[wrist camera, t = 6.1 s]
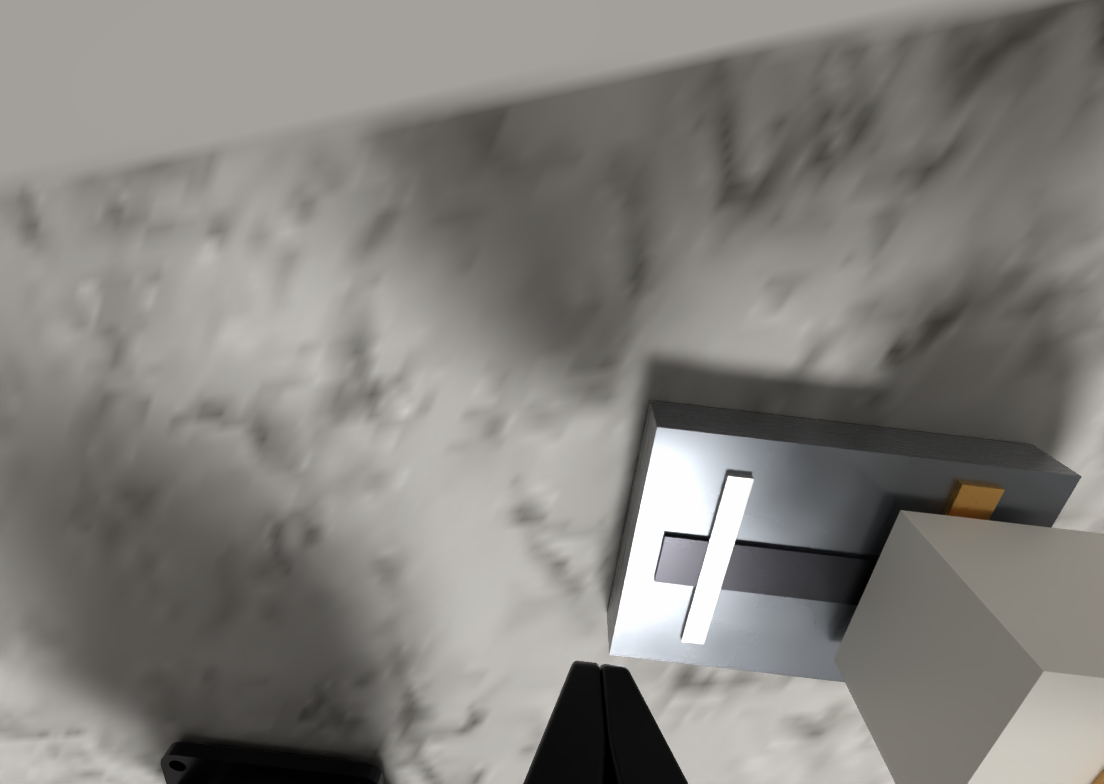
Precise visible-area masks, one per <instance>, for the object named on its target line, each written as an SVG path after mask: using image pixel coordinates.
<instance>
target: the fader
mask: <svg viewBox="0 0 1104 784" xmlns="http://www.w3.org/2000/svg"><path fill="white" fill-rule="evenodd" d="M834 661H835V663H836V665H837V667H838V669H839V671H840V673H841V675H842V677H843V679H844V681H845V683H846V685H847V687H848V689H849V691H850V693H851V695H852V697H853V699H854V701H855V703H856V705H857V707H858V709H859V711H860V713H861V715H862V717H863V719H864V721H865V723H866V725H867V727H868V729H869V731H870V733H871V735H872V737H873V739H874V741H875V743H876V745H877V747H878V749H879V751H880V753H881V755H882V757H883V759H884V761H885V763H886V765H887V767H888V769H889V771H890V773H891V775H892V777H893V779H894V781H895V783H896V784H1104V534H1102V533H1093V532H1085V531H1076V530H1067V529H1059V528H1050V527H1042V526H1033V525H1024V524H1016V523H1007V522H999V521H990V520H981V519H973V518H964V517H956V516H947V515H938V514H930V513H921V512H913V511H904V510H900V512H899V515H898V517H897V519H896V521H895V523H894V526H893V528H892V530H891V532H890V535H889V537H888V539H887V541H886V544H885V546H884V548H883V550H882V552H881V555H880V557H879V559H878V561H877V564H876V566H875V568H874V570H873V573H872V575H871V577H870V579H869V581H868V584H867V586H866V588H865V590H864V593H863V595H862V597H861V599H860V602H859V604H858V606H857V608H856V610H855V613H854V615H853V617H852V619H851V622H850V624H849V626H848V628H847V631H846V633H845V635H844V637H843V639H842V642H841V644H840V646H839V648H838V651H837V653H836V655H835V657H834Z"/></svg>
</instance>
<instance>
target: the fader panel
mask: <svg viewBox="0 0 1104 784" xmlns="http://www.w3.org/2000/svg"><path fill="white" fill-rule="evenodd" d="M1081 477H1082V476H1080V475H1079V474H1077V473H1075V472H1074V471H1072V470H1071V469H1069V468H1068V467H1066V466H1065V465H1063V464H1062V463H1060V462H1059V461H1057V460H1055V459H1054V458H1052V457H1051V456H1049V455H1048V454H1046V453H1045V452H1043V451H1042V450H1040V449H1039V448H1037V447H1036V446H1034V445H1030V444H1022V443H1013V442H1004V441H996V440H987V439H979V438H970V437H962V436H953V435H944V434H936V433H927V432H919V431H910V430H901V429H893V428H884V427H876V426H867V425H859V424H850V423H841V422H833V421H824V420H816V419H807V418H798V417H790V416H781V415H773V414H764V413H755V412H747V411H738V410H730V409H721V408H713V407H704V406H695V405H687V404H678V403H670V402H661V401H652V400H650V401H649V406H648V411H647V416H646V421H645V426H644V431H643V436H642V441H641V446H640V451H639V456H638V461H637V466H636V471H635V476H634V481H633V486H632V491H631V496H630V501H629V506H628V511H627V516H626V521H625V526H624V531H623V537H622V542H621V547H620V552H619V557H618V562H617V567H616V572H615V577H614V582H613V587H612V592H611V597H610V602H609V607H608V612H607V624H608V641H609V655H615V656H624V657H632V658H641V659H649V660H658V661H667V662H675V663H684V664H693V665H701V666H710V667H718V668H727V669H736V670H744V671H753V672H762V673H770V674H779V675H787V676H796V677H805V678H813V679H822V680H831V681H839V682H845V681H844V679H843V677H842V675H841V673H840V671H839V669H838V667H837V665H836V663H835V661H834V657H835V655H836V653H837V651H838V648H839V646H840V644H841V642H842V639H843V637H844V635H845V633H846V631H847V628H848V626H849V624H850V622H851V619H852V617H853V615H854V613H855V610H856V608H857V606H858V604H859V602H860V599H861V597H862V595H863V593H864V590H865V588H866V586H867V584H868V581H869V579H870V577H871V575H872V573H873V570H874V568H875V566H876V564H877V561H878V559H879V557H880V555H881V552H882V550H883V548H884V546H885V544H886V541H887V539H888V537H889V535H890V532H891V530H892V528H893V526H894V523H895V521H896V519H897V517H898V515H899V512H900V510H904V511H913V512H921V513H930V514H938V515H947V516H956V517H964V518H973V519H981V520H990V521H999V522H1007V523H1016V524H1024V525H1033V526H1042V527H1050V528H1051V527H1052V525H1053V524H1054V522H1055V520H1056V519H1057V517H1058V515H1059V514H1060V512H1061V510H1062V509H1063V507H1064V505H1065V503H1066V502H1067V500H1068V498H1069V497H1070V495H1071V493H1072V492H1073V490H1074V488H1075V487H1076V485H1077V483H1078V482H1079V480H1080V478H1081Z"/></svg>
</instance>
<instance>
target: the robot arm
mask: <svg viewBox="0 0 1104 784" xmlns="http://www.w3.org/2000/svg"><path fill="white" fill-rule="evenodd" d="M161 766H162V770H163V773H164V776H165V780H166V783H167V784H384V777H383V772H382V770H381V769H380V768H379V767H377V766H375V765H373V764H370V763H364V762H356V761H347V760H338V759H330V758H321V757H312V756H304V755H295V754H286V753H278V752H269V751H261V750H252V749H243V748H235V747H226V746H217V745H209V744H200V743H191V742H175V743H173V744H172V745H171V746H170V747H169V749H168V750H167V752H166V753H165V755H164V756H163V758H162V759H161ZM523 784H688V782H687V780H686V779H685V777H684V775H683V773H682V771H681V769H680V767H679V765H678V763H677V761H676V759H675V758H674V756H673V754H672V752H671V750H670V748H669V746H668V744H667V742H666V740H665V739H664V737H663V735H662V733H661V731H660V729H659V727H658V725H657V723H656V721H655V719H654V718H653V716H652V714H651V712H650V710H649V708H648V706H647V704H646V702H645V700H644V698H643V697H642V695H641V693H640V691H639V689H638V687H637V685H636V683H635V681H634V679H633V678H632V676H631V674H630V672H629V670H628V669H627V668H626V667H624V666H617V665H609V664H603V665H601V666H600V667H599V665H598V664H596V663H592V662H584V661H575V662H573V664H572V666H571V668H570V670H569V673H568V675H567V678H566V680H565V683H564V685H563V687H562V690H561V692H560V695H559V697H558V700H557V702H556V705H555V707H554V710H553V712H552V714H551V717H550V719H549V722H548V724H547V727H546V729H545V732H544V734H543V737H542V739H541V741H540V744H539V746H538V749H537V751H536V754H535V756H534V759H533V761H532V764H531V766H530V768H529V771H528V773H527V776H526V778H525V781H524V783H523Z"/></svg>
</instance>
